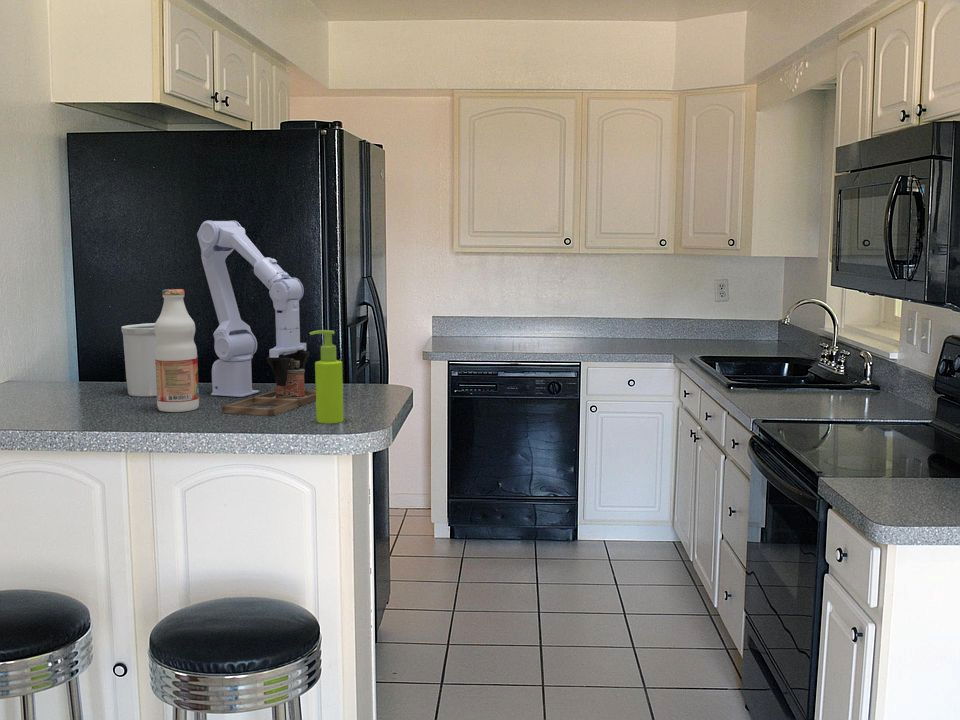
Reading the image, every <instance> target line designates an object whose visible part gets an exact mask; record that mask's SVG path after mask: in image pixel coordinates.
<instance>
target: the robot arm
mask: <svg viewBox="0 0 960 720" xmlns="http://www.w3.org/2000/svg"><path fill="white" fill-rule="evenodd" d="M196 236H197V237H196V238H197V239H198V244H199V247H200V253H201V254H200V256H201V257H200V258H201V262H202V266H203V269H204V273H205V274H204V275H205V276H206V281H207V284H208V288H209V291H210V295H211V299H212V302H213V307H214V310H215V313H216V317H217V321H218V324H219V325H218V327H217V328H216V329H215V330H214V332H212V333H213V338H214V339H213V340H214V346H213V347H214V351H215V354H216V356H217V357H218V359H216V360H215V361H214V362H213V364H212V366H211V367H212V368H211V383H212V384H211V387H212V392H211V393H210V396H221V397H235V398H236V397H238V398H243V397H244V398H245V397H247V396H251V395H254V394H257V393H259V392H260V390H258V389H253V385H252V384H253V380H252V379H253V378H252V377H253V376H252V373H253V372H252V359H254V354H255V353H256V352H257V350H258V341H257V338H256V336H255V335H254V333H253V332H252V329H251V326H250V324H248V323H246V322H245V321H244V320H242V318H241V315H240V311H239V308H238V307H239V306H238V303H237V300H236V296H235V293H234V288H233V285H232V282H231V278H230V273H229V271H228V267H227V264H226V259H227V257H228V256H229V255H230V254H231V253H232V252H233V251H234V250H235V251H236V252H237V253H238V254H240V256H241V257H242V258H243V259H245V260H246V261H247V262H249V263H248V264H250V265H251V266H252V267H253V274H254V275H255V276H256V277H257V278H258V279H259V280H260V281H261V282H262V284H263V285H265V287H266V288H267V289H268V290H269V292H268V294H269V298H270V299H271V300H272V304H273V308H274V311H275V312H274V313H275V343H276V344H275V345H276V346H274V347H273V348H270V349H269V355H268V356H267V357H266V361H267V363H268V365H269V366H270V369H271V370H272V373H273V376H274V378H275V384H276V383H277V386H286V382H287V371H288V366H289V363H290V360H291V358H292V359H294V360H297V361H300V366H299V369H305V366H306V364H307V362H308V359H309V357H310V351H307V342H301V327H300V325H301V324H300V323H301V322H300V301H301V299H302V298H303V296H304V291H305V289H304V285H303V283H302V282H301V280H300V279H299V278H297V277H291V275H289V273H288V272H286V271H285V270H283V268H282V267H281V266H280V265H279V264H277V263H278V260H276V259H275V258H272V257H265V256H264V255H263V254H262V253H261V251H260V250H259V249H258V248H257V247H256V245H255V244H254V243H253V242H252V241H251V239H250V238H249V237H248V236H247V234H246V229H245V228H244V227H242V225H241V224H240V223H239V221H237V220H205V221H203V222H202V223H201V225H200V227H199V229H198V231H197V233H196ZM286 356H287V357H286Z"/></svg>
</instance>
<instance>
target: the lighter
mask: <svg viewBox="0 0 960 720" xmlns="http://www.w3.org/2000/svg"><path fill="white" fill-rule="evenodd" d="M299 366H300V361H297V360H294V359H292V358H291V360H290V363H289V366H288V371H287V382H286V386H277V383H276V382H275V390H276V398H288V399H300V398H303V397H305V391H304V390H305V372H306V369H305V368H304V369H299Z"/></svg>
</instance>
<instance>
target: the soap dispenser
mask: <svg viewBox="0 0 960 720" xmlns="http://www.w3.org/2000/svg"><path fill="white" fill-rule="evenodd" d="M308 333H309V334H310V336H312V335H319V334H322V335H323V341H324V343H323V344H322V345H320V360H317V361H315V362H314V371H315V372H314V373H315V374H314V375H315V378H314V380H315V391H316V401H315V411H316V412H315V413H316V415H315V416H316V419H315V420H316V422H317V423H319V424H338V423H341V422H344V381H343V378H344V377H343V373H344V372H343V361H342V360H338V359H337V346H336V345H335V344H333V335H335V330H333V329H332V330H330V329H329V330H327V329H319V330H314V331H310V332H308Z"/></svg>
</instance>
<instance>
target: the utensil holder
mask: <svg viewBox="0 0 960 720" xmlns="http://www.w3.org/2000/svg"><path fill="white" fill-rule="evenodd" d="M155 323H156V322H153V323H152V322H151V323H149V322H148V323H147V322H146V323H139V324H128V325H123V326H121V327H120V328H121V333H122V339H123V340H122V341H123V351H124V352H123V354H124V364H125V366H124V367H125V379H126V387H127V394H128V395H129V396H133V397H147V398H148V397H157V387H156V365H155V347H156V344H157V338H156V335H155V330H154V328H155Z"/></svg>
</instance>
